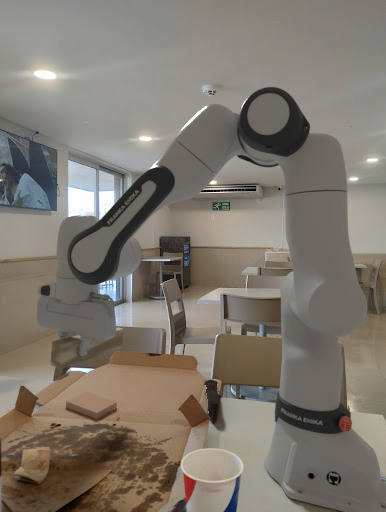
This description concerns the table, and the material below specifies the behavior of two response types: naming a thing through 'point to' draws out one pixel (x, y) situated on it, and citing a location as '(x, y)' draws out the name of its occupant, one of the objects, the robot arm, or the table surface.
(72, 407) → the tile
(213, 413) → the hand tool
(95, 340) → the gray bar
